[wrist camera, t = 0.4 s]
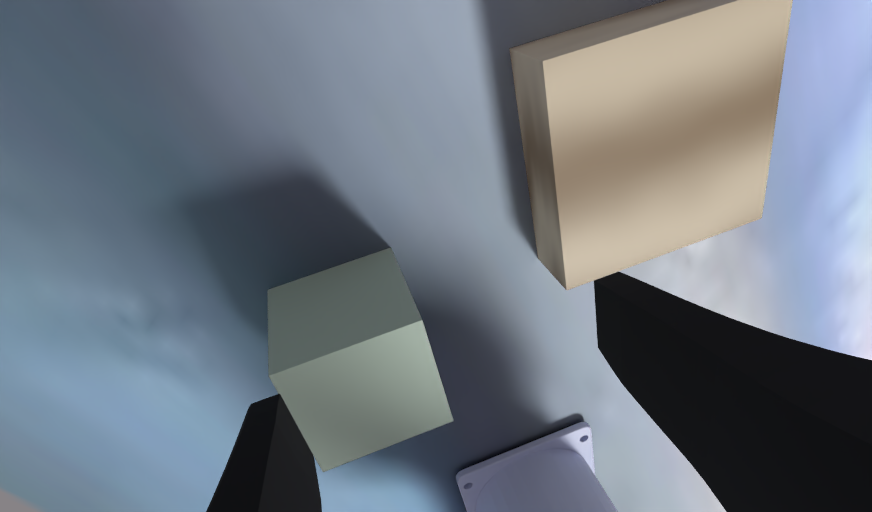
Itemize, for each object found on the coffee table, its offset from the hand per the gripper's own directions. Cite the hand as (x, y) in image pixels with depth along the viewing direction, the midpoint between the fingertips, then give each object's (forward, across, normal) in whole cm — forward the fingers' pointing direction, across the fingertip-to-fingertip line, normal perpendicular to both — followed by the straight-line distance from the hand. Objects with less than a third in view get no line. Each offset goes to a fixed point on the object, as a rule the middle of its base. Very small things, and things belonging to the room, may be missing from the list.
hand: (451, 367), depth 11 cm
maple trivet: (+10, -10, 0) cm, 15 cm away
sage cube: (+10, +2, +5) cm, 11 cm away
